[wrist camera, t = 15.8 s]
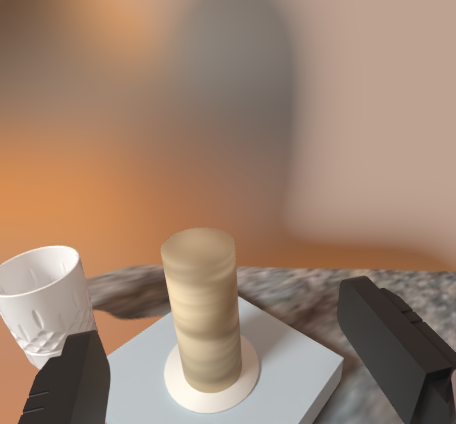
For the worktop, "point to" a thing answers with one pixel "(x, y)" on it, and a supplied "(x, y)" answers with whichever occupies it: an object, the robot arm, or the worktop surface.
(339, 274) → the worktop surface
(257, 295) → the worktop surface
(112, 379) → the light grey plinth
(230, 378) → the maple pillar
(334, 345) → the worktop surface
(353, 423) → the worktop surface
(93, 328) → the white cup
